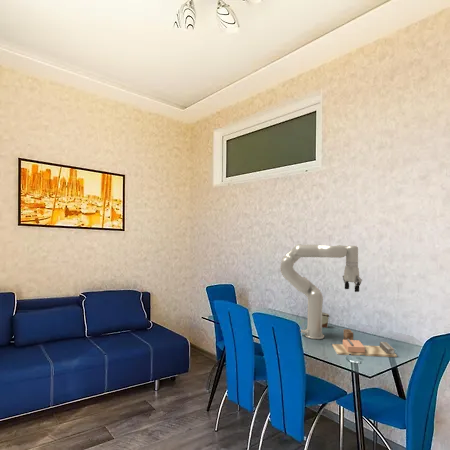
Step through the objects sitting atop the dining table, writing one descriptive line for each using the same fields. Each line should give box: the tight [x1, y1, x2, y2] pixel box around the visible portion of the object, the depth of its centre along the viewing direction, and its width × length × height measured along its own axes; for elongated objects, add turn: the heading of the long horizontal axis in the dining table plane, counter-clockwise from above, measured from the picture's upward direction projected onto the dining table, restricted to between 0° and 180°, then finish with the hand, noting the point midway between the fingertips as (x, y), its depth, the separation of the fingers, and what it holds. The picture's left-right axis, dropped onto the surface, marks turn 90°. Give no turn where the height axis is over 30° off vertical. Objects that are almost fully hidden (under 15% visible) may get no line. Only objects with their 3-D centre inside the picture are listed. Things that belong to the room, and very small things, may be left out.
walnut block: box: [342, 328, 354, 341], centre depth 220 cm, size 4×8×7 cm, turn 175°
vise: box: [331, 341, 398, 358], centre depth 204 cm, size 33×14×4 cm, turn 85°
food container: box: [322, 311, 330, 329], centre depth 253 cm, size 12×6×10 cm, turn 84°
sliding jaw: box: [342, 339, 365, 353], centre depth 205 cm, size 10×12×4 cm
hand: (351, 290), depth 226 cm, fingers open, 9 cm apart
